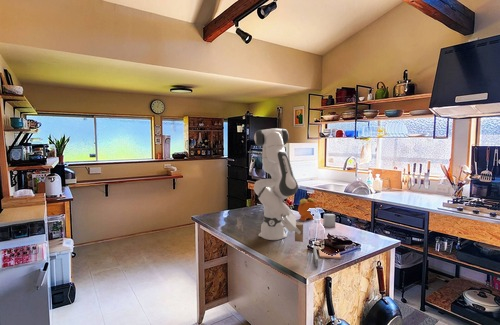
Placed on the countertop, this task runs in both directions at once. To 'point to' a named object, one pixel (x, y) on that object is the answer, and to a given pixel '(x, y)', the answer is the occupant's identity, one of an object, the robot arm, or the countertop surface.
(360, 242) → the countertop surface
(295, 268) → the countertop surface
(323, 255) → the pad
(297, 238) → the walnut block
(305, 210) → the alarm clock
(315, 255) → the acrylic wall
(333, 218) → the medicine box
